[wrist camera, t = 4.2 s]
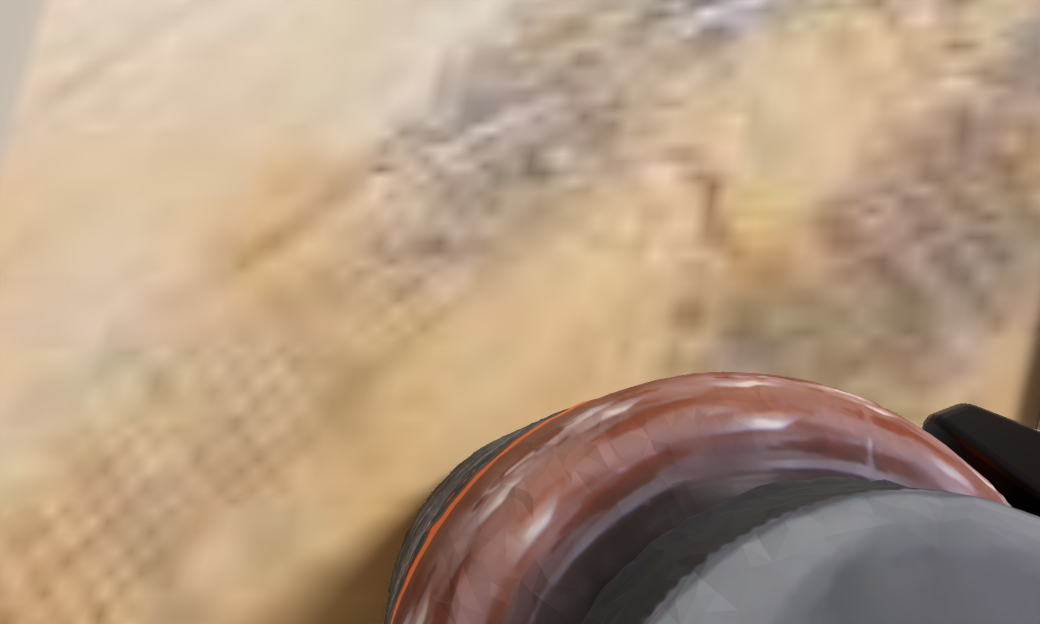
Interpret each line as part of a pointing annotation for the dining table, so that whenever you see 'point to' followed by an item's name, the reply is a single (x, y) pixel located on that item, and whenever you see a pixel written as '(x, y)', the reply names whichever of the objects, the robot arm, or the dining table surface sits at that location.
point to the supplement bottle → (718, 518)
